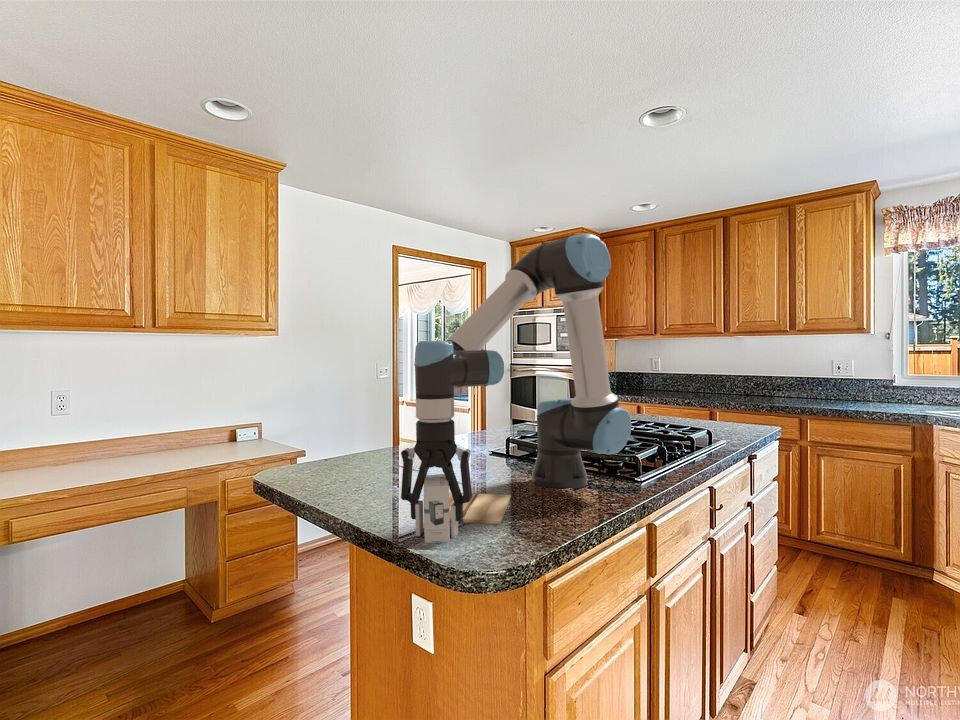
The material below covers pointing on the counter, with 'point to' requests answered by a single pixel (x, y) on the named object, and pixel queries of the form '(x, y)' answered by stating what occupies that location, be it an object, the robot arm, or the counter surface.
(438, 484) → the ink box
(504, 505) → the plank
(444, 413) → the robot arm
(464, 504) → the floor strip
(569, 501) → the counter surface
